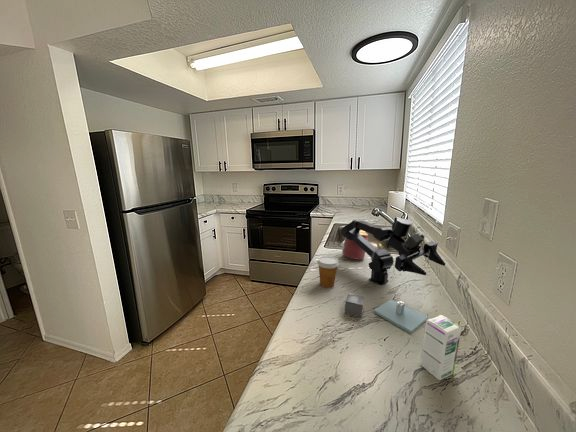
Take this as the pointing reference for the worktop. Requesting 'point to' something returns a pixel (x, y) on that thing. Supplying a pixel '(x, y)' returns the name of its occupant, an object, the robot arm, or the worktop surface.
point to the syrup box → (440, 346)
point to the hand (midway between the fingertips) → (435, 269)
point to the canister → (354, 248)
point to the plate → (401, 316)
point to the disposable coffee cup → (327, 270)
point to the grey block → (354, 305)
